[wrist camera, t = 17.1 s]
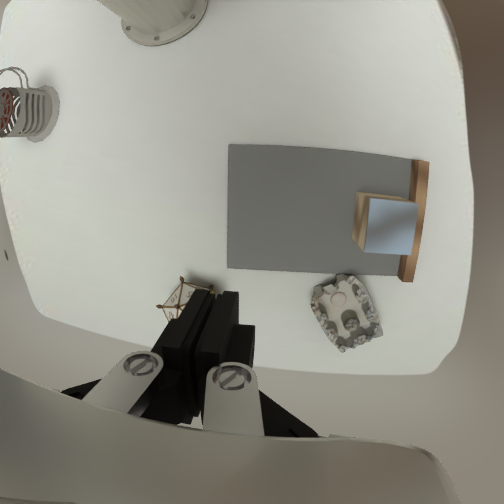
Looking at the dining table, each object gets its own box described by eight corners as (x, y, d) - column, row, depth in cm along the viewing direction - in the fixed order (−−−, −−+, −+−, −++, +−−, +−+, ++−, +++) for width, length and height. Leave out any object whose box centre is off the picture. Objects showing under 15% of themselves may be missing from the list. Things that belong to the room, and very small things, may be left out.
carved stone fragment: (304, 289, 40) (306, 303, 36) (354, 264, 38) (361, 276, 34) (334, 344, 42) (338, 361, 39) (379, 323, 41) (386, 338, 37)
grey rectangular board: (229, 144, 35) (228, 144, 35) (410, 159, 33) (411, 159, 33) (227, 267, 40) (227, 268, 40) (396, 275, 38) (396, 275, 38)
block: (418, 203, 29) (399, 196, 35) (370, 198, 29) (356, 191, 35) (410, 255, 31) (393, 241, 37) (363, 252, 31) (351, 238, 37)
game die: (218, 285, 45) (253, 321, 37) (183, 327, 44) (211, 369, 37) (177, 254, 39) (207, 289, 32) (138, 301, 39) (159, 346, 31)
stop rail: (410, 159, 33) (418, 160, 31) (420, 161, 33) (429, 161, 31) (396, 275, 38) (402, 282, 36) (405, 275, 38) (412, 282, 36)
